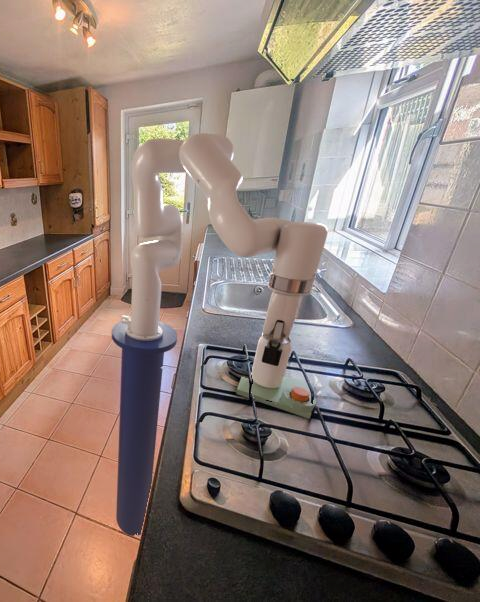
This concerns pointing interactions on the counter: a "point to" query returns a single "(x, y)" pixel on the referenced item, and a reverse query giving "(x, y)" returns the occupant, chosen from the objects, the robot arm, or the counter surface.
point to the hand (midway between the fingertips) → (272, 354)
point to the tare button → (300, 394)
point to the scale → (279, 396)
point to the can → (269, 373)
